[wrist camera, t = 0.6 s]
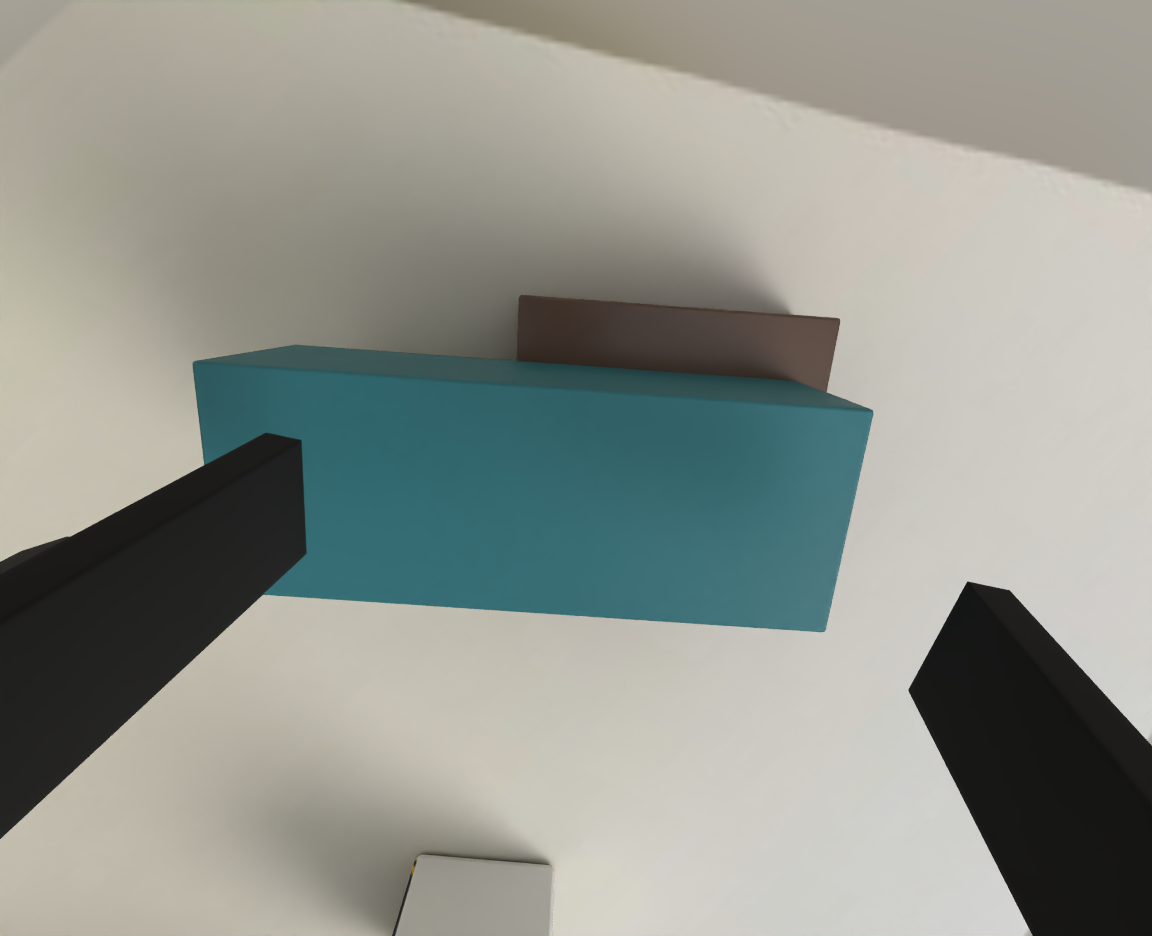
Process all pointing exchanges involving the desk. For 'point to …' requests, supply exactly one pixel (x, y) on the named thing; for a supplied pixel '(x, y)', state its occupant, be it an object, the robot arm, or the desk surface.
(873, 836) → the desk surface
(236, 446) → the teal rectangular prism
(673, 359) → the riser
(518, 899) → the medicine bottle
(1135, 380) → the desk surface
